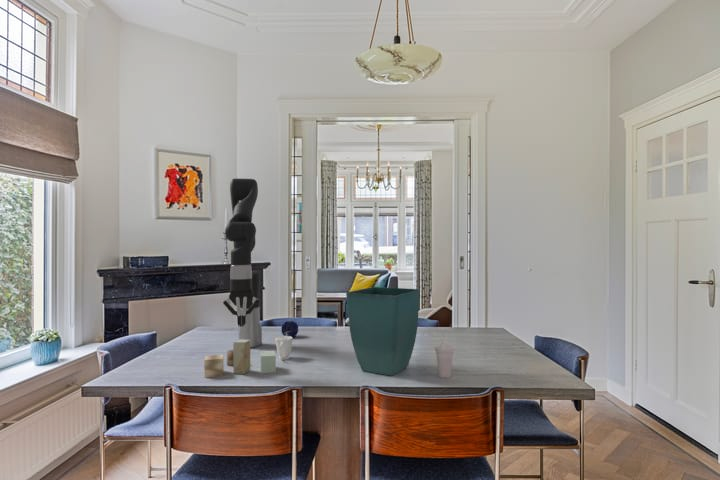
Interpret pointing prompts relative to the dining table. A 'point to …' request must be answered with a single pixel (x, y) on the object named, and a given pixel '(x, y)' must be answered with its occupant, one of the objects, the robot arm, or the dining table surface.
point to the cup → (284, 346)
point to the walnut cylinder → (230, 358)
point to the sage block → (267, 362)
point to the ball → (290, 329)
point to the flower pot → (383, 327)
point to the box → (241, 356)
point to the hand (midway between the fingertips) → (241, 326)
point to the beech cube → (213, 365)
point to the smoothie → (444, 359)
